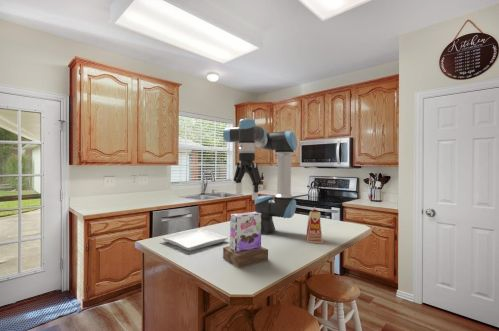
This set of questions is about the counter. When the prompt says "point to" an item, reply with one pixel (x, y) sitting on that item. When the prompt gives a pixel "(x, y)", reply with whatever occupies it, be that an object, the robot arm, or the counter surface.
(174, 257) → the counter surface
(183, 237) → the square plate
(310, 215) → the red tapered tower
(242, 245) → the candy box
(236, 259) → the walnut block
